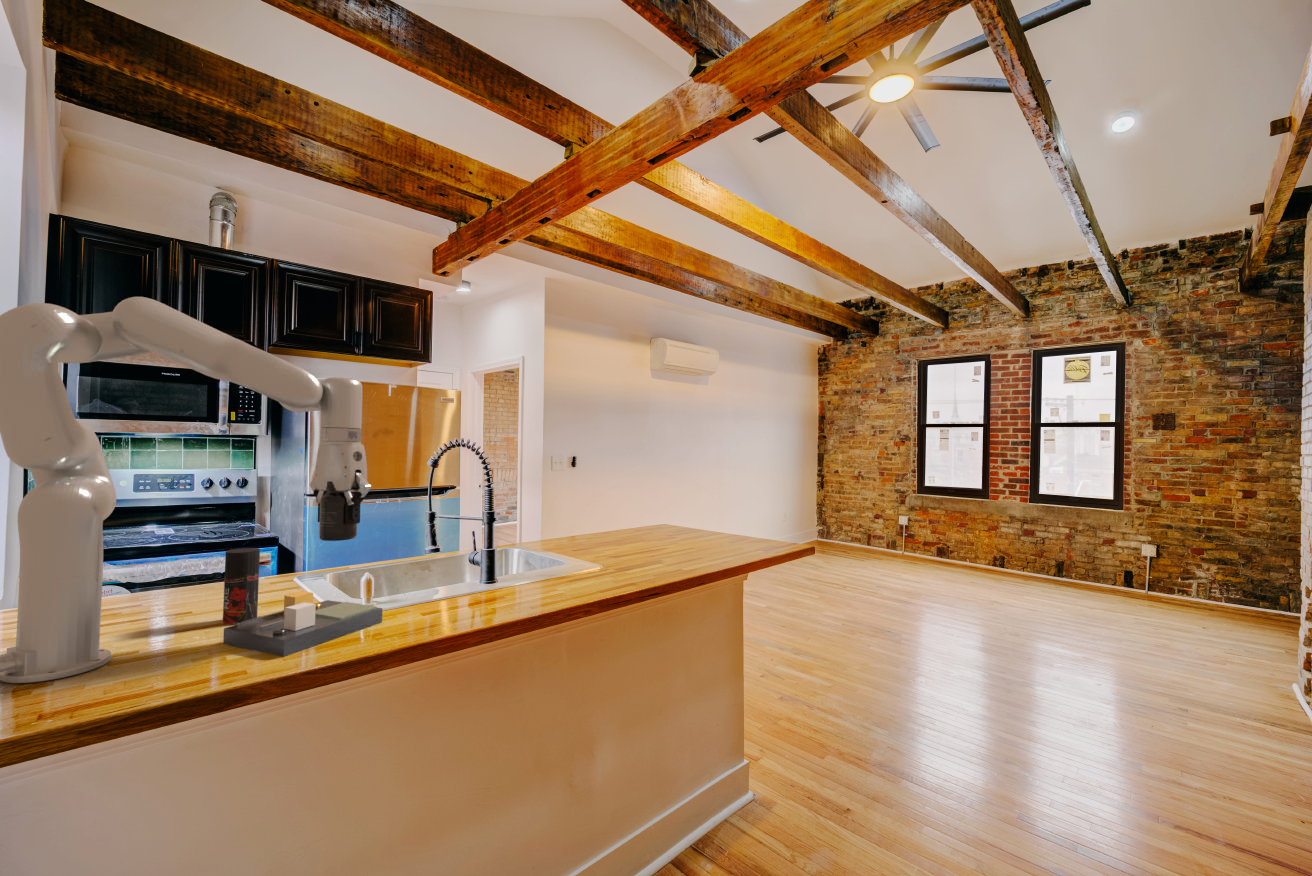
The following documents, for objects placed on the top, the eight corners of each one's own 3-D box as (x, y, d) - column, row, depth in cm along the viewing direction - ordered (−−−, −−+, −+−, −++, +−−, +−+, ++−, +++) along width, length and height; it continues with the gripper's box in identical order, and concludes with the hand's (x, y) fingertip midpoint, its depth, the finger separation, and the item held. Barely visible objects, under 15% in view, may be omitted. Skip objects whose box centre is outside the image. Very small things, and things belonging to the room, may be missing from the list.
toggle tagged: (294, 617, 112) (295, 597, 113) (283, 615, 113) (284, 595, 114) (312, 612, 116) (313, 592, 116) (302, 610, 117) (302, 591, 117)
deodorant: (263, 617, 122) (266, 548, 122) (241, 625, 116) (244, 553, 116) (239, 615, 123) (241, 547, 123) (215, 624, 117) (218, 552, 117)
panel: (283, 656, 100) (284, 636, 100) (223, 644, 105) (223, 625, 105) (382, 622, 120) (382, 605, 120) (327, 613, 126) (327, 597, 126)
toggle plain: (295, 630, 104) (296, 609, 104) (283, 628, 105) (284, 607, 105) (314, 624, 108) (315, 604, 108) (303, 622, 109) (304, 602, 109)
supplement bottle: (341, 535, 120) (343, 479, 120) (364, 537, 117) (365, 480, 118) (311, 539, 114) (312, 480, 114) (334, 542, 111) (335, 482, 111)
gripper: (387, 438, 116) (385, 523, 116) (327, 437, 123) (325, 518, 122) (356, 437, 109) (354, 527, 109) (294, 436, 116) (292, 522, 115)
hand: (338, 522), depth 116 cm, fingers closed on supplement bottle, 6 cm apart
